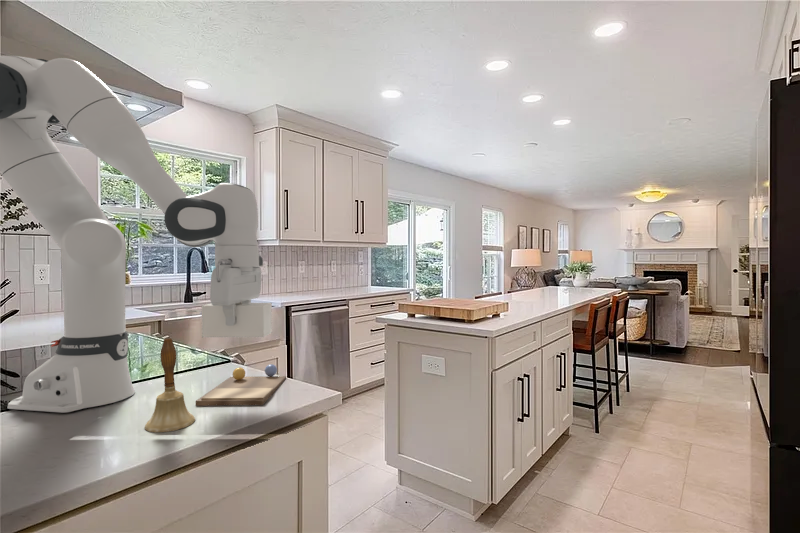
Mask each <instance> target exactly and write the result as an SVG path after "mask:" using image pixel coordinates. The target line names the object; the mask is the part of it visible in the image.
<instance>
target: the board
mask: <svg viewBox="0 0 800 533" xmlns="http://www.w3.org/2000/svg"><path fill="white" fill-rule="evenodd" d="M278 376H279V375H278ZM278 376H275V375H274V376H267V375H266V376H264V375H263V376H245V377H244V378H243V379H241V380H236V379H234V377H233V376H229V377H228V378H226V379H225V380H224V381H222V382H221V383H220V384H218V385H216V386H215V387H214V388H212V389H211V390H209V391H208V392H206V393H205V394H204V395H201V397H198V399H196V400H195V407H197V406H198V407H199V406H200V407H202V406H205V407H206V406H207V407H208V406H210V407H211V406H213V407H214V406H215V407H216V406H263V405H264V404H265V403H267V401H268V400H269V399H270V398H271V397H272V396H273V394H274V393H275V392H276V390H278V389H279V387H280V386H281V385H282V384H283V382H284V381H285V380H286V379H287V376H286V375H285V376H283V375H282V376H281V375H280V376H279V377H278ZM285 378H286V379H285Z"/></svg>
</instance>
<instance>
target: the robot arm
mask: <svg viewBox="0 0 800 533" xmlns="http://www.w3.org/2000/svg"><path fill="white" fill-rule="evenodd" d="M59 123H60V124H62V126H63V127H64V128H65V129H66V130H67V131H68V132H69V133H70V134H71V136H73V137H74V139H75V140H76V141H78V142H79V143H80V144H81V145H83V147H84V148H85V149H87V150H88V151H90V152H91V153H92V154H93V155H94V156H96V157H97V158H99V159H100V160H101V161H103V162H104V163H106V164H108V165H109V166H111V167H112V168H114V169H116V170H117V171H119V172H120V173H122V174H123V175H124V176H126V177H127V178H129V179H130V180H131V181H133V182H134V183H135V185H137V186H138V187H139V188H140V189H141V190H142V191H143V192H144V193H145V194H146V195H147V196H148V197H149V199H150V200H151V201H153V203H154V204H155V205H156V206H157V207H158V208H159V209H160V210H161V211H162V212H163V214H164V225H165V228H166V229H167V231H168V232H169V233H170V235H171V236H173V238H175V239H176V240H177V241H178V242H179V243H181V244H182V245H184V246H187V247H190V248H202V247H205V246H208V245H209V244H211V243H212V242H214V262H215V264H214V266H215V268H213V270H212V272H211V275H210V286H209V287H210V288H209V300H210V304H212V305H213V306H223V312H224V315H225V317H226V325H227V326H233V325H235V324H236V323H237V321H236V320H237V316H235V311H234V309H235V304H236V303H239V302H242V303H252V300H254V299H258V298H259V297H260V295H261V291H262V290H261V289H262V269H261V268H262V267H264V258H263V256H262V255H261V254H260V251H259V242H258V238H257V231H258V227H259V215H258V214H259V213H258V202H257V198H256V195H255V194H254V192H253V191H252V190H251V189H250V188H248V187H247V186H245V185H242V184H237V183H232V182H231V183H230V182H221V183H218V184H216V186H214V187H212V188H210V189H209V190H206V191H203V192H201V193H197V194H193V195H188V194H186V193H185V191H184V190H183V189H182V188H181V187H180V186H179V185H178V184H177V182H176V181H175V180H174V179H173V178H172V177H171V175H169V174H168V173H167V171H166V170H165V169H164V168H163V166H162V165H161V163H160V162H159V161H158V159H157V157H156V156H155V154H154V152H153V150H152V148H151V145H150V144H149V142H148V138H147V137H146V135H145V133H144V131H143V130H142V128H141V126H140V125H139V123H138V122H137V119H135V117H134V116H133V114H132V112H131V111H130V110H129V109H128V107H127V106H126V105H125V104H124V102H123V101H121V99H120V98H119V97H118V96H117V95H116V94H115V93H114V92H113V91H112V89H110V87H108V86H107V85H106V83H104V82H103V81H102V80H101V79H100V78H99V77H97V76H96V74H94V73H93V72H92V71H90V69H88V68H87V67H86V66H84V65H83V64H81V63H80V62H78V61H76V60H75V59H71V58H67V57H58V58H57V57H56V58H53V59H50V60H47V59H44V58H32V57H28V56H27V57H26V56H21V55H20V56H19V55H11V54H10V55H9V54H8V55H0V174H1V176H2V177H3V179H4V180H5V182H6V183H7V184H8V185H9V186H10V187H11V189H12V190H13V191H14V192H15V194H16V195H17V196H18V197H19V199H20V201H22V203H23V204H24V205H25V207H26V208H27V209H28V210H29V212H30V213H31V214H32V215H33V216H34V218H35V219H36V220H37V222H39V224H40V225H41V226H42V228H43V229H44V230H45V231H46V233H48V235H49V236H50V237H51V238H52V240H53V241H54V242H55V243H56V244H57V246H58V247H59V248H60V254H61V257H60V258H61V273H62V274H61V275H62V276H61V278H62V279H61V280H62V293H63V336H62V337H60V338H59V339H57V340H52V341H50V343H53V344H51V345H50V347H51V348H53V347H57V348H56V349H55V350H56V351H55V354H54V355H53V356H52V357H50V358H48V359H47V360H46V361H45V362H43V363H42V364H41V365H40V366H38V367H36V369H34V370H32V371H31V372H30V373H29V374H28V375H27V376H26V377H25V380H24V382H23V387H22V395H20V396H19V397H16V398H13V399H12V400H11V401H10V402H8V403H7V409H9V410H22V411H23V410H24V411H35V412H48V413H49V412H50V413H62V414H63V413H71V412H74V411H79V410H82V409H87V408H94V407H98V406H105V405H108V404H112V403H117V402H119V401H120V402H121V401H123V400H126V399H127V398H130V397H131V396H133V395H135V393H136V390H135V388H134V385H133V383H132V379H131V374H130V370H129V362H128V353H129V333H128V331H127V330H126V276H127V275H126V274H127V273H126V271H127V269H126V267H127V262H126V261H127V260H126V258H127V255H126V254H127V252H126V250H127V243H126V238H125V236H124V234H123V233H122V231H121V230H120V229H119V228H118V227H117V226H116V225H115V224H113V223H111V221H110V220H109V219H108V217H107V216H106V215H105V212H103V210H102V208H101V207H100V205H99V204H98V202H96V200H95V199H94V197H93V196H92V194H91V192H90V191H89V189H88V188H87V185H85V183H84V182H83V180H82V179H81V178H80V176H79V175H78V174H77V172H76V171H75V169H74V168H73V167H72V165H71V164H70V163H69V161H68V160H67V158H66V157H65V156H64V154H62V152H61V150H60V149H59V148H58V147H57V145H56V143H55V142H54V141H53V140H52V138H51V136H50V134H49V133H48V130H47V128H48V127H47V125H48V124H52V125H53V124H55V125H57V124H59Z"/></svg>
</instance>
